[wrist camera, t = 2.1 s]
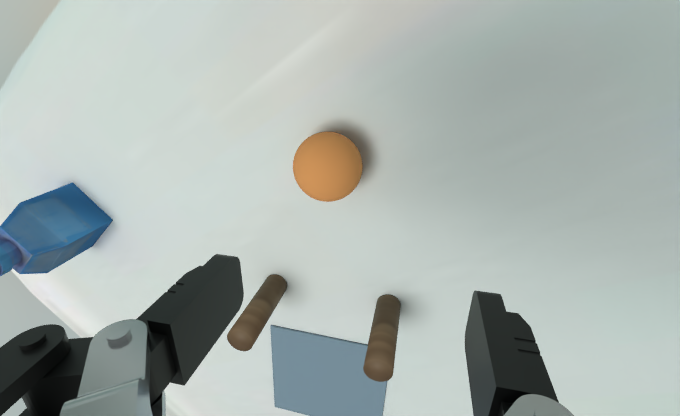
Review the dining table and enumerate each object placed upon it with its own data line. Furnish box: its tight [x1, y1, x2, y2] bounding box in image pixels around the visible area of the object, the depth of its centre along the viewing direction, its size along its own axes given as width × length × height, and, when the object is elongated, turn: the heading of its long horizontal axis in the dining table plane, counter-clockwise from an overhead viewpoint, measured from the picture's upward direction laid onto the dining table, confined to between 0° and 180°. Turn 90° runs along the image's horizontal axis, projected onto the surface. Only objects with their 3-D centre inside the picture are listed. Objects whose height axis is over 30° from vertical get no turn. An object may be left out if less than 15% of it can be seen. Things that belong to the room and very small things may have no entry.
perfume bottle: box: [0, 183, 113, 276], centre depth 39 cm, size 6×6×12 cm
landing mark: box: [271, 325, 387, 416], centre depth 46 cm, size 15×15×1 cm
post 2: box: [363, 295, 401, 382], centre depth 35 cm, size 3×3×9 cm
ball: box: [293, 132, 362, 202], centre depth 31 cm, size 6×6×6 cm
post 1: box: [227, 275, 287, 351], centre depth 37 cm, size 3×3×9 cm
